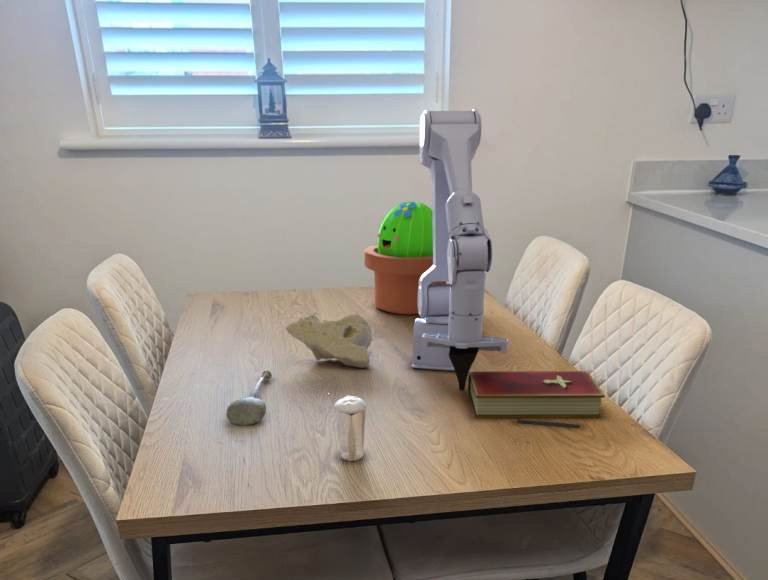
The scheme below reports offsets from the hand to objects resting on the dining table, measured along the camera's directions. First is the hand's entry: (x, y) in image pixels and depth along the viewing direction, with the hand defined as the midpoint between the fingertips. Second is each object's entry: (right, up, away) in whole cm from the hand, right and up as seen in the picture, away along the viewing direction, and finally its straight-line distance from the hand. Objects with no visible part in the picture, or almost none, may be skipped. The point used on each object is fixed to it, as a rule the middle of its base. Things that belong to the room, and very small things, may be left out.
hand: (462, 389), depth 126 cm
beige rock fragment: (-24, +8, +17) cm, 31 cm away
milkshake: (-19, -14, -19) cm, 30 cm away
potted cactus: (-7, +30, +55) cm, 63 cm away
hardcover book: (+12, -3, -2) cm, 12 cm away
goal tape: (+15, -3, -2) cm, 15 cm away
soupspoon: (-36, -2, 0) cm, 36 cm away
